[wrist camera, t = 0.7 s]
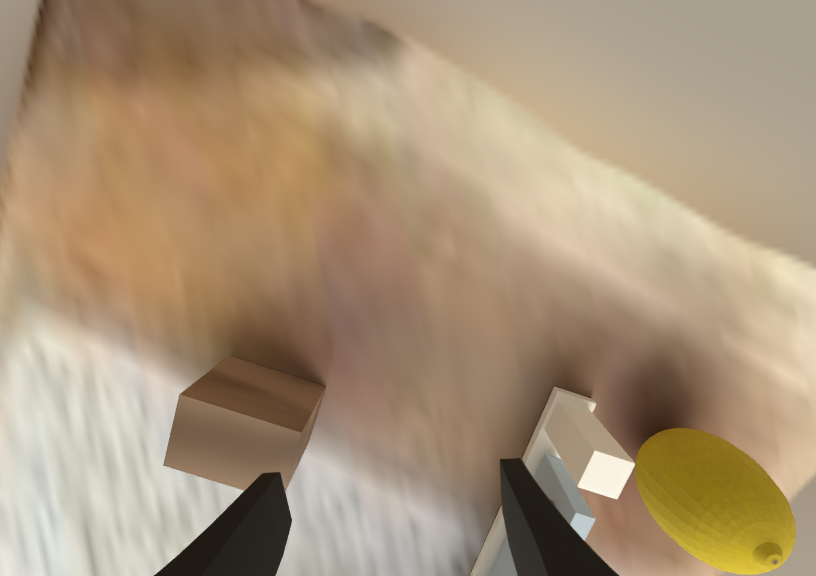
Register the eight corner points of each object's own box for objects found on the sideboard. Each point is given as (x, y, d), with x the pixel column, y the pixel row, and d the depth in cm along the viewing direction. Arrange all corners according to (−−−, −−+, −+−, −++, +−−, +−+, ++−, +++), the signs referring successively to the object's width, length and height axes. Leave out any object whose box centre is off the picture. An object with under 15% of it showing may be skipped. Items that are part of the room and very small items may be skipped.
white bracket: (481, 632, 26) (497, 738, 21) (448, 622, 26) (456, 726, 21) (592, 398, 23) (644, 455, 18) (554, 386, 23) (595, 439, 17)
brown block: (308, 441, 24) (280, 501, 19) (215, 412, 24) (163, 465, 19) (326, 385, 23) (301, 432, 18) (230, 355, 23) (179, 394, 18)
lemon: (710, 404, 23) (864, 506, 15) (693, 486, 24) (828, 622, 16) (615, 400, 23) (719, 499, 15) (603, 482, 24) (693, 615, 16)
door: (486, 615, 25) (504, 718, 20) (459, 606, 25) (469, 707, 20) (560, 457, 23) (601, 529, 18) (530, 448, 23) (562, 517, 18)
